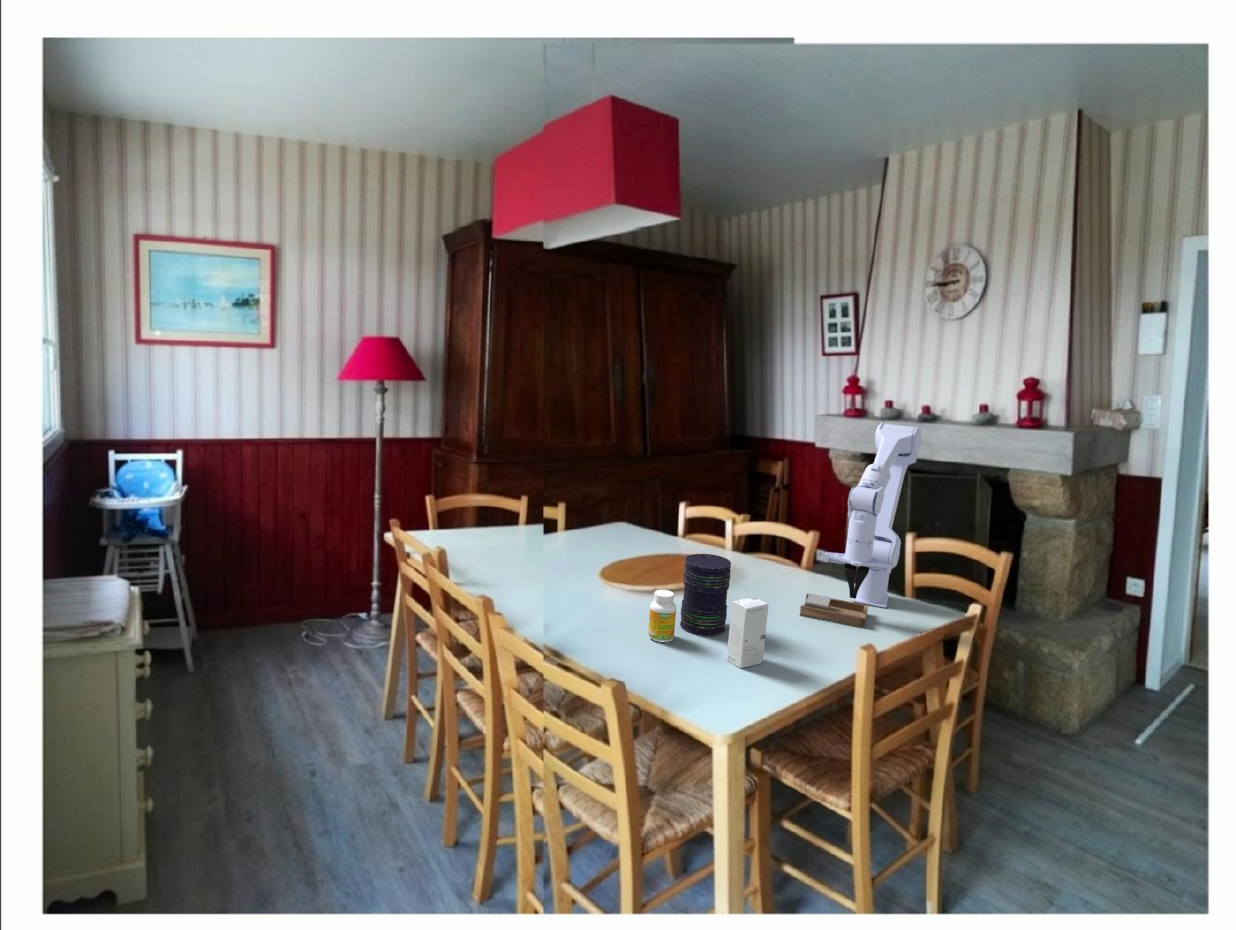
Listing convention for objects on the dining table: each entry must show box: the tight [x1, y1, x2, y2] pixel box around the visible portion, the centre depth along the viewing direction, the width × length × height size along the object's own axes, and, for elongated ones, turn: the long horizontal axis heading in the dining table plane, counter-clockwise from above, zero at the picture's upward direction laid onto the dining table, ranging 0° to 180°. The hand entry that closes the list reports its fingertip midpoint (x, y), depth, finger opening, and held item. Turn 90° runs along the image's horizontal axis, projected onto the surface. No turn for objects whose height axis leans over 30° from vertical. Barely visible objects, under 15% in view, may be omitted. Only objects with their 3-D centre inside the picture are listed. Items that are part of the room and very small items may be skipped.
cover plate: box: [804, 593, 832, 611], centre depth 168 cm, size 6×5×2 cm
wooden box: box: [799, 593, 869, 629], centre depth 167 cm, size 10×14×2 cm
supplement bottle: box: [647, 589, 677, 643], centre depth 148 cm, size 5×5×10 cm
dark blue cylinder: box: [679, 553, 732, 637], centre depth 154 cm, size 10×10×15 cm
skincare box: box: [726, 597, 769, 669], centre depth 139 cm, size 6×4×12 cm
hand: (853, 596), depth 165 cm, fingers closed
